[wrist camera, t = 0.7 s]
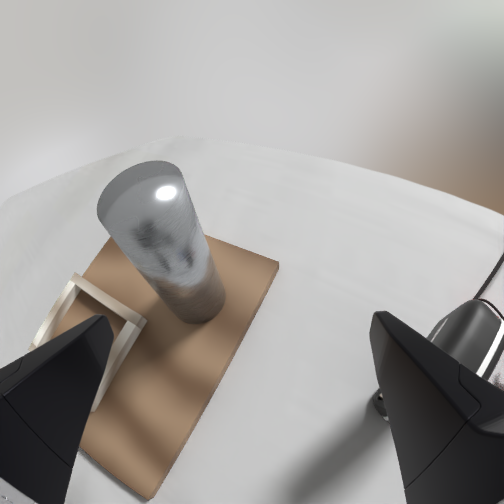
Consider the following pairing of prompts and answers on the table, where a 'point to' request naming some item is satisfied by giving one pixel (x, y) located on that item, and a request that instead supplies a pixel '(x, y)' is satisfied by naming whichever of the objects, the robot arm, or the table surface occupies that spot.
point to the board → (155, 357)
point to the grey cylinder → (163, 238)
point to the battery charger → (466, 341)
